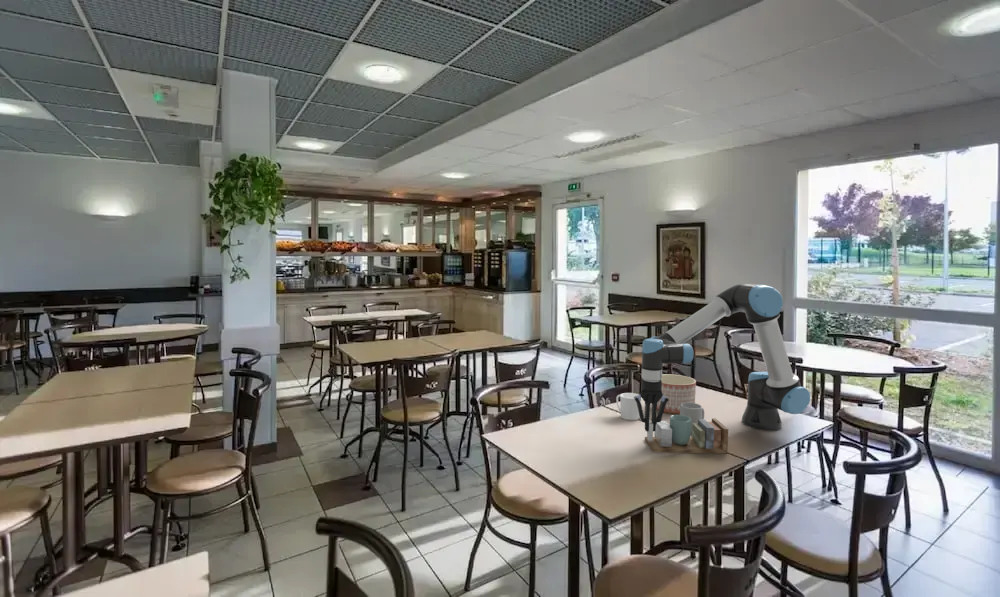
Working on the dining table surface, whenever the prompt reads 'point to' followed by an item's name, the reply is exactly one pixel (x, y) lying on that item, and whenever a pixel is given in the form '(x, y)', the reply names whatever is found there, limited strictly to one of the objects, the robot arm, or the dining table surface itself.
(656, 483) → the dining table surface
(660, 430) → the bookend
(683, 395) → the planter
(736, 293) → the robot arm
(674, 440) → the cup
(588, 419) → the dining table surface
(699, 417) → the mug
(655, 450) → the caddy
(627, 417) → the mug
